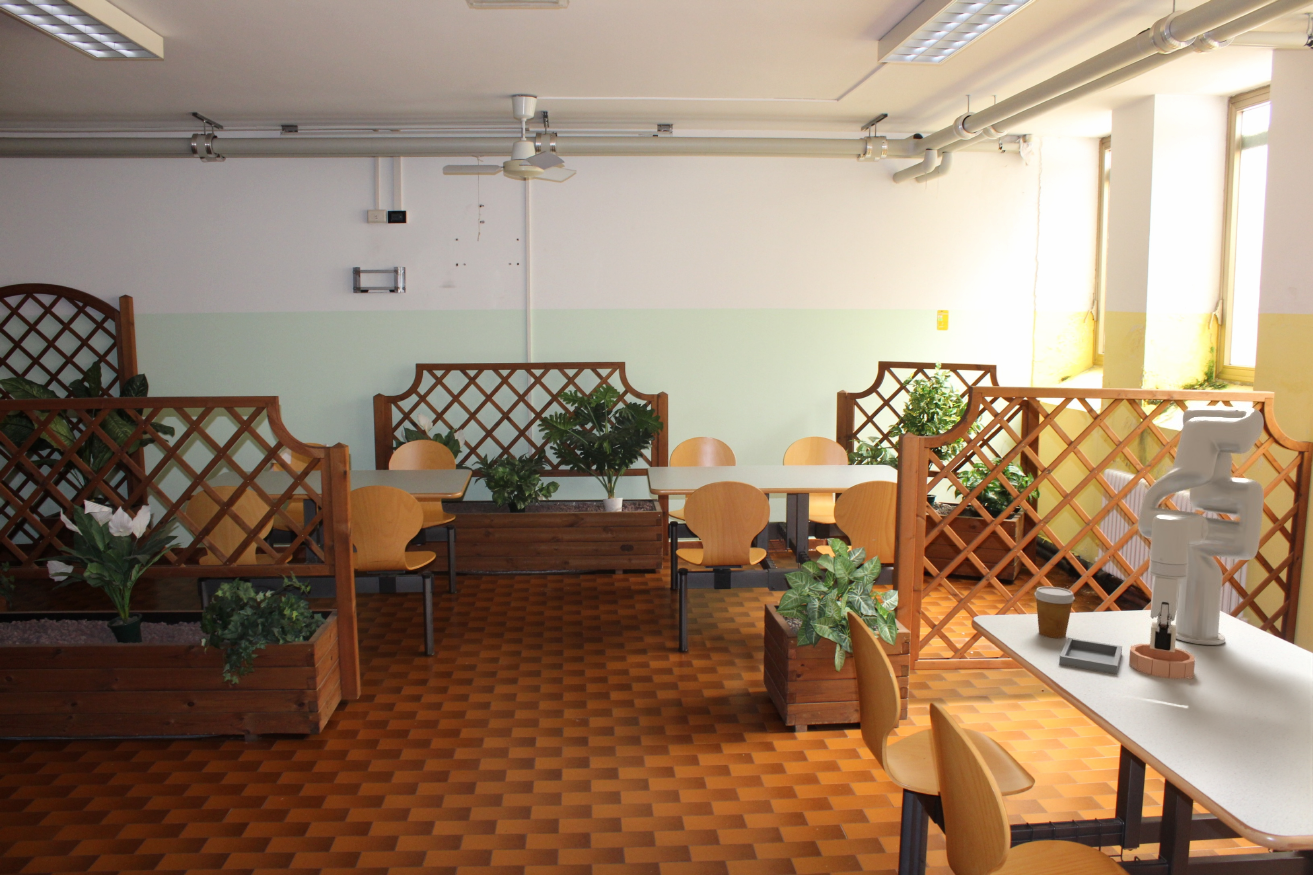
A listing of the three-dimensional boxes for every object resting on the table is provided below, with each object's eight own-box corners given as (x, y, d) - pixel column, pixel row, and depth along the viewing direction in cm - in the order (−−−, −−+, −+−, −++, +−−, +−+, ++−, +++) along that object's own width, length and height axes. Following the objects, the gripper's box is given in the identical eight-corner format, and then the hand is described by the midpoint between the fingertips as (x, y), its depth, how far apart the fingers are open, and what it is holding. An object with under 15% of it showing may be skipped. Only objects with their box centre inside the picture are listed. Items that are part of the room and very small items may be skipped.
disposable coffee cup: (1074, 634, 232) (1077, 589, 231) (1069, 644, 224) (1072, 597, 223) (1035, 628, 237) (1038, 584, 236) (1029, 637, 229) (1031, 592, 228)
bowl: (1131, 656, 216) (1132, 640, 215) (1193, 666, 209) (1194, 650, 209) (1127, 672, 205) (1128, 655, 204) (1193, 684, 198) (1194, 666, 198)
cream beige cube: (1150, 642, 210) (1152, 621, 209) (1175, 646, 207) (1176, 625, 207) (1149, 648, 206) (1151, 627, 205) (1174, 652, 203) (1176, 630, 203)
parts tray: (1067, 647, 222) (1068, 637, 222) (1121, 656, 216) (1122, 646, 216) (1059, 666, 209) (1059, 655, 208) (1116, 676, 202) (1117, 665, 202)
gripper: (1150, 559, 214) (1145, 633, 216) (1147, 574, 199) (1142, 653, 201) (1187, 563, 210) (1181, 638, 212) (1186, 579, 195) (1180, 659, 197)
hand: (1162, 645), depth 206 cm, fingers closed on cream beige cube, 4 cm apart
